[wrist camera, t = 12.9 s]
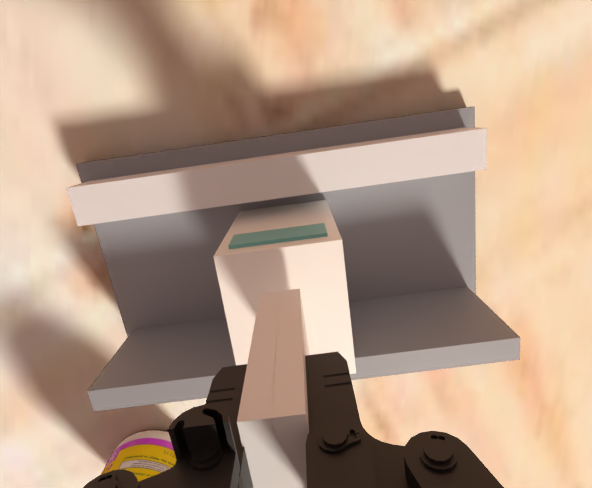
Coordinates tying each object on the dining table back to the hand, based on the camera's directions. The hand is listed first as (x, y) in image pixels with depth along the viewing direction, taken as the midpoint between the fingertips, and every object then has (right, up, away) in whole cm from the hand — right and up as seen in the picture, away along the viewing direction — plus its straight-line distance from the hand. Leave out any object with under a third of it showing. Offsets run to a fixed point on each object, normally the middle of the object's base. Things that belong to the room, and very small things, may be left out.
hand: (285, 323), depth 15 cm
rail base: (0, +4, +10) cm, 10 cm away
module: (0, +2, +9) cm, 9 cm away
